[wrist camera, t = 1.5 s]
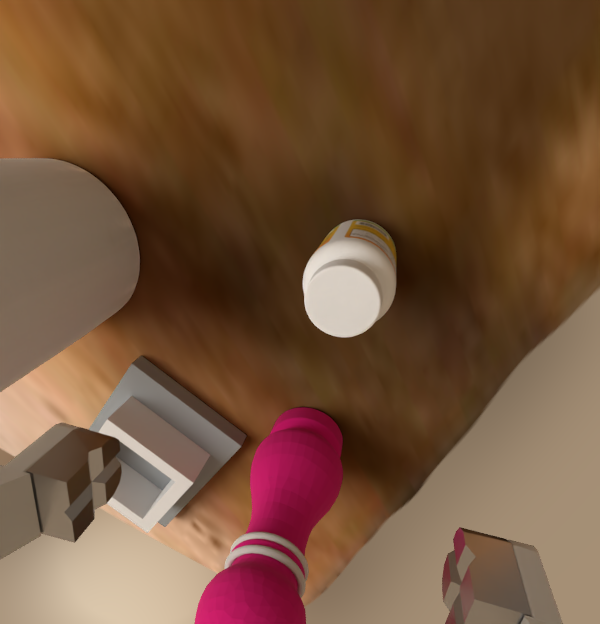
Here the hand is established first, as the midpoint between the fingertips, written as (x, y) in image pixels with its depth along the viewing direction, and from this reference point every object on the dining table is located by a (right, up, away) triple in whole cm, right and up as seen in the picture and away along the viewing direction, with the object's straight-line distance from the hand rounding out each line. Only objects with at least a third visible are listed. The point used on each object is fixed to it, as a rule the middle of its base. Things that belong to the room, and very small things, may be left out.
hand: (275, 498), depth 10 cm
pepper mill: (+1, -7, +28) cm, 28 cm away
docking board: (-13, -8, +32) cm, 35 cm away
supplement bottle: (+5, +8, +21) cm, 23 cm away
